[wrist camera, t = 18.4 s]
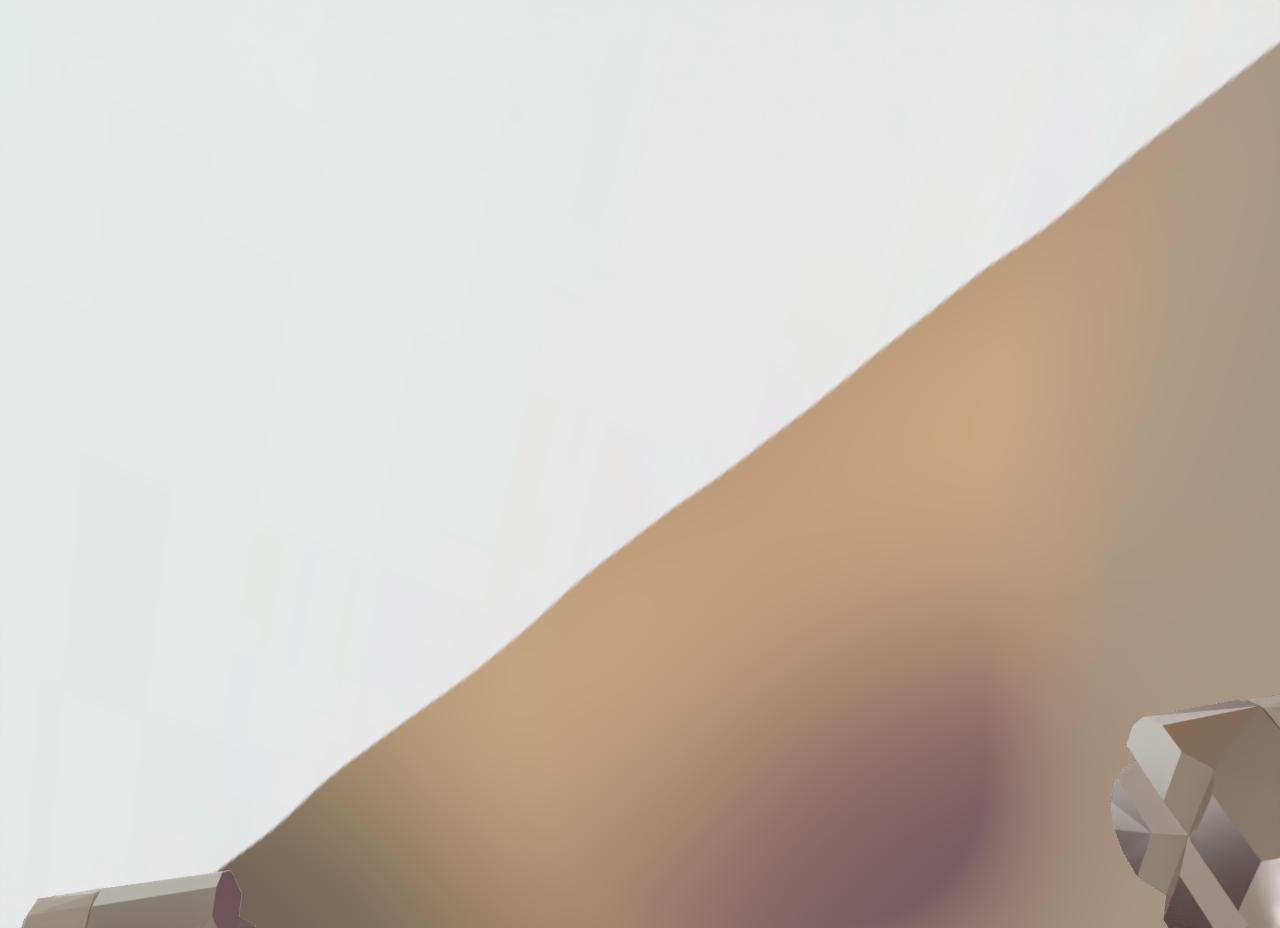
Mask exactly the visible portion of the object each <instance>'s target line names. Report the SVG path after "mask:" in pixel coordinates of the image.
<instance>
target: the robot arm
mask: <svg viewBox="0 0 1280 928" xmlns="http://www.w3.org/2000/svg"><path fill="white" fill-rule="evenodd" d="M1127 746H1128V748H1129V750H1130V751H1131V753H1132V754H1133V756H1134V757H1135V760H1134V761H1133V762H1132V763H1131V764H1130V765H1129V766H1127V767H1126V768H1125V769H1124V770H1123V771H1122V772H1121V773H1120V774H1119V775H1118V776H1117V777H1116V781H1115V784H1114V788H1113V792H1112V796H1111V801H1110V802H1111V810H1112V817H1113V824H1114V830H1115V833H1116V836H1117V838H1118V841H1119V843H1120V846H1121V848H1122V851H1123V853H1124V855H1125V856H1126V858H1127V860H1128V862H1129V863H1130V865H1131V867H1132V869H1133V870H1134V872H1135V874H1136V875H1137V877H1139V878H1140V879H1142V880H1144V881H1145V882H1147V883H1148V884H1150V885H1151V886H1153V887H1154V888H1156V889H1157V890H1159V891H1160V892H1162V893H1164V894H1165V895H1166V900H1165V909H1164V919H1163V920H1164V922H1165V923H1166V925H1167V926H1168V928H1280V694H1277V695H1271V696H1266V697H1260V698H1255V699H1250V700H1245V701H1240V700H1234V701H1228V702H1224V703H1217V704H1212V705H1206V706H1202V707H1196V708H1190V709H1185V710H1179V711H1174V712H1168V713H1163V714H1157V715H1152V716H1146V717H1143V718H1142V719H1140V720H1139V721H1138V722H1137V723H1136V724H1135V725H1133V727H1132V729H1131V732H1130V735H1129V738H1128V741H1127ZM241 895H242V893H241V891H240V889H239V887H238V884H237V882H236V880H235V878H234V876H233V873H232V872H231V870H230V871H223V872H216V873H209V874H202V875H195V876H188V877H181V878H174V879H167V880H160V881H153V882H146V883H139V884H132V885H125V886H118V887H111V888H102V889H96V890H90V891H83V892H77V893H71V894H65V895H59V896H52V897H46V898H40V899H38V900H37V901H36V903H35V904H34V906H33V907H32V909H31V910H30V912H29V913H28V915H27V916H26V918H25V919H24V921H23V925H22V928H255V925H254V924H252V923H250V922H248V921H246V920H244V919H242V918H240V917H239V912H240V904H241Z"/></svg>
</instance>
